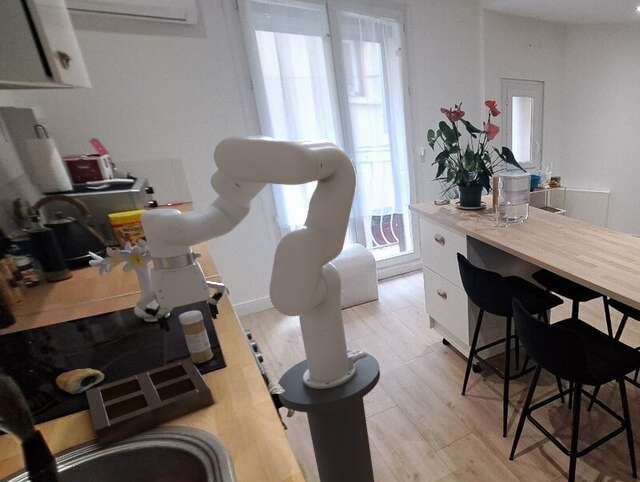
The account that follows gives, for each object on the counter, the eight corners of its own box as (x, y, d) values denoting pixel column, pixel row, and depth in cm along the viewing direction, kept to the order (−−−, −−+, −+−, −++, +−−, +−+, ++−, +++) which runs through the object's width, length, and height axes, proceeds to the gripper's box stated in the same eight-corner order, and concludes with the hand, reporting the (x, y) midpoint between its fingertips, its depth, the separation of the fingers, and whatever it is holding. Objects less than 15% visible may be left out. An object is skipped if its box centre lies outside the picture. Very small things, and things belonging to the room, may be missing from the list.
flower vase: (115, 318, 127) (87, 242, 118) (191, 304, 138) (170, 233, 130) (111, 335, 118) (80, 253, 109) (192, 318, 129) (170, 242, 120)
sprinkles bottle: (201, 354, 110) (188, 309, 106) (217, 355, 110) (205, 310, 105) (187, 363, 106) (173, 317, 101) (204, 364, 106) (190, 318, 101)
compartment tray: (193, 371, 103) (189, 357, 102) (214, 403, 92) (209, 388, 91) (92, 405, 90) (85, 390, 89) (101, 447, 79) (94, 430, 78)
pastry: (47, 388, 95) (41, 374, 94) (84, 372, 101) (78, 359, 100) (75, 396, 93) (69, 382, 91) (111, 379, 99) (105, 366, 98)
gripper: (213, 249, 107) (226, 308, 113) (122, 264, 94) (143, 329, 100) (221, 256, 102) (235, 317, 108) (127, 273, 90) (149, 340, 96)
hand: (191, 323), depth 104 cm, fingers open, 9 cm apart
